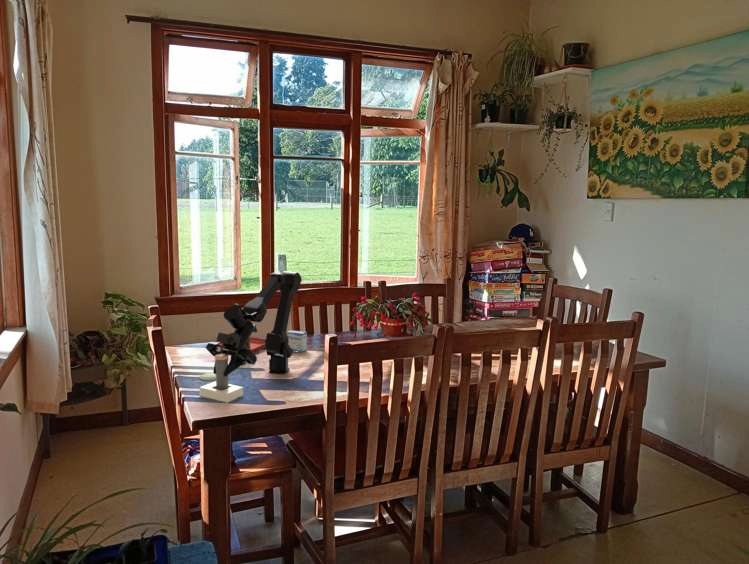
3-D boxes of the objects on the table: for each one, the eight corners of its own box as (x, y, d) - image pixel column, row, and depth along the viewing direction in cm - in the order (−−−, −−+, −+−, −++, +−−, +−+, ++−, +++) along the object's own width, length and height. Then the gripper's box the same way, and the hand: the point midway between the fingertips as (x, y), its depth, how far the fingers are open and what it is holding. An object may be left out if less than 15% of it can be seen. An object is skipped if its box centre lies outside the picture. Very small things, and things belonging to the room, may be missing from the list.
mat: (225, 374, 223) (225, 373, 223) (216, 381, 215) (216, 380, 215) (205, 373, 224) (205, 372, 224) (195, 379, 217) (195, 378, 217)
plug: (231, 391, 203) (230, 354, 201) (226, 395, 198) (225, 357, 196) (219, 390, 203) (218, 353, 201) (213, 394, 199) (212, 357, 197)
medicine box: (285, 351, 259) (286, 331, 258) (290, 348, 263) (290, 329, 262) (302, 353, 257) (302, 333, 255) (306, 350, 261) (307, 331, 260)
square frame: (215, 389, 207) (215, 380, 207) (243, 395, 202) (243, 387, 202) (199, 395, 200) (199, 387, 200) (227, 402, 195) (227, 393, 194)
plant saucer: (273, 346, 267) (273, 339, 266) (251, 356, 250) (251, 349, 250) (238, 341, 273) (238, 334, 272) (215, 351, 256) (215, 343, 256)
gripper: (208, 319, 205) (185, 357, 197) (251, 326, 196) (229, 367, 188) (224, 336, 213) (203, 374, 205) (266, 344, 205) (245, 384, 197)
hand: (219, 374), depth 199 cm, fingers closed on plug, 4 cm apart
